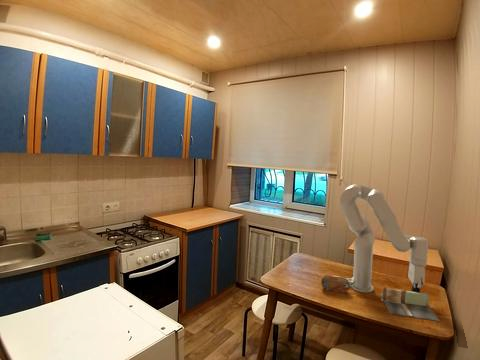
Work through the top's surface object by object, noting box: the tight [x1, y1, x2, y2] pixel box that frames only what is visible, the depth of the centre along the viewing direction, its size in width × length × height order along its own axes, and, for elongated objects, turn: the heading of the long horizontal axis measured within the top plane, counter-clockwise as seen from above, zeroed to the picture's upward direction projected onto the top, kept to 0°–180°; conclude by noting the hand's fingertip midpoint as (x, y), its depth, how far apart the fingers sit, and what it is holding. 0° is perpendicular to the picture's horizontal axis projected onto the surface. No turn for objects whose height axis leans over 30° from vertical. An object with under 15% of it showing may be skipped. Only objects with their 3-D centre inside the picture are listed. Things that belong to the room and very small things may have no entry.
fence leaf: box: [405, 290, 430, 306], centre depth 137 cm, size 10×1×6 cm, turn 74°
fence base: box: [380, 287, 440, 322], centre depth 136 cm, size 22×19×7 cm
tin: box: [320, 274, 351, 294], centre depth 151 cm, size 15×3×8 cm, turn 69°
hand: (415, 294), depth 141 cm, fingers closed
